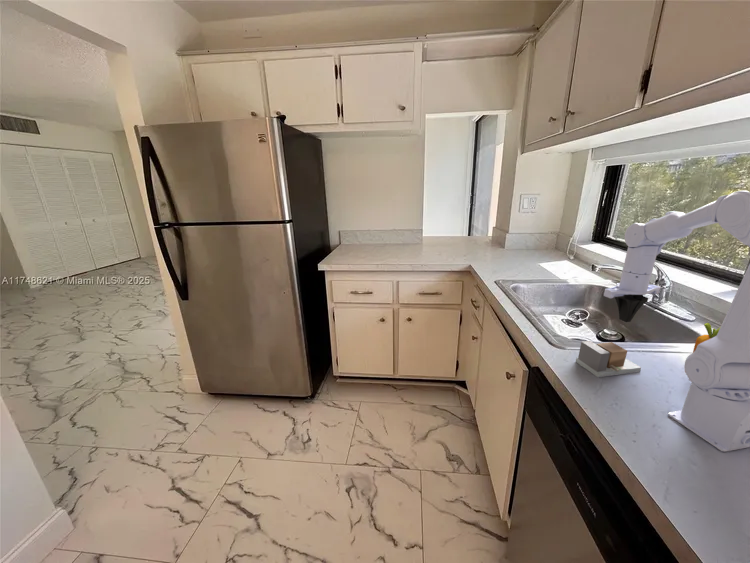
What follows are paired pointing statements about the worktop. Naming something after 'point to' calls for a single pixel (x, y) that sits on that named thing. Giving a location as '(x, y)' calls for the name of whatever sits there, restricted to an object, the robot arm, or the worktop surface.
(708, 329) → the carrot
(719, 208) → the robot arm
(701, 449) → the worktop surface
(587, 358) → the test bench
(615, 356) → the block
